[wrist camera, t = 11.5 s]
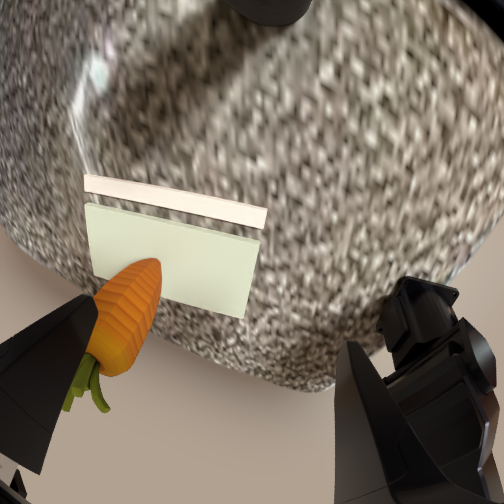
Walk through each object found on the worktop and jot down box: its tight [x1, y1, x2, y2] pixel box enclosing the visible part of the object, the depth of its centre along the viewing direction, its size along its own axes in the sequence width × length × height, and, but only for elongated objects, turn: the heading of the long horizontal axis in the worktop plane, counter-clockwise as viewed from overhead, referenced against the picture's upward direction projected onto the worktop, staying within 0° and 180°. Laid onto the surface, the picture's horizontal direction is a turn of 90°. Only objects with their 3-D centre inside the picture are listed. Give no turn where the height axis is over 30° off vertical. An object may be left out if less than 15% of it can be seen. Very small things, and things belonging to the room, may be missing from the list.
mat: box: [85, 202, 261, 319], centre depth 25 cm, size 16×8×1 cm, turn 80°
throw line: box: [84, 174, 268, 229], centre depth 22 cm, size 16×2×1 cm, turn 80°
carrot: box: [62, 258, 162, 413], centre depth 18 cm, size 5×5×15 cm
